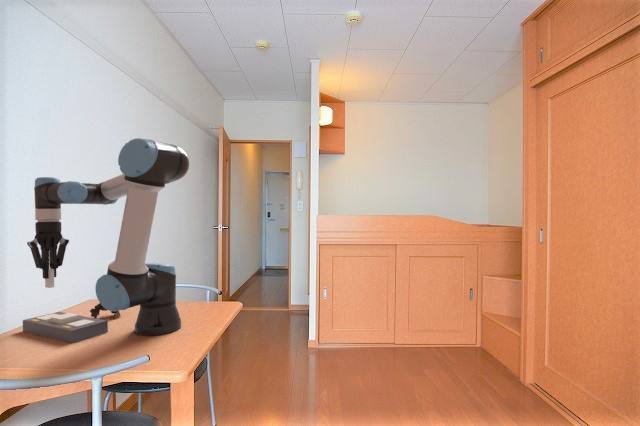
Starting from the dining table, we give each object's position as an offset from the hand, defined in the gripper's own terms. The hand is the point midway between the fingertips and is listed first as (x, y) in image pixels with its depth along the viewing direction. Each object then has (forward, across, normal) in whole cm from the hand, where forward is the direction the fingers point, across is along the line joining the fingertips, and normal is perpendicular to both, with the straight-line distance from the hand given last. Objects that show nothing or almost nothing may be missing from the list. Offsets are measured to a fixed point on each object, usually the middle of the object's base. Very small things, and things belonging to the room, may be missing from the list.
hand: (49, 287), depth 135 cm
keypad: (+15, 0, +8) cm, 17 cm away
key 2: (+14, 0, +18) cm, 22 cm away
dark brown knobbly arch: (+15, -18, +5) cm, 24 cm away
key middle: (+13, 0, +9) cm, 15 cm away
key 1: (+14, 0, 0) cm, 14 cm away
